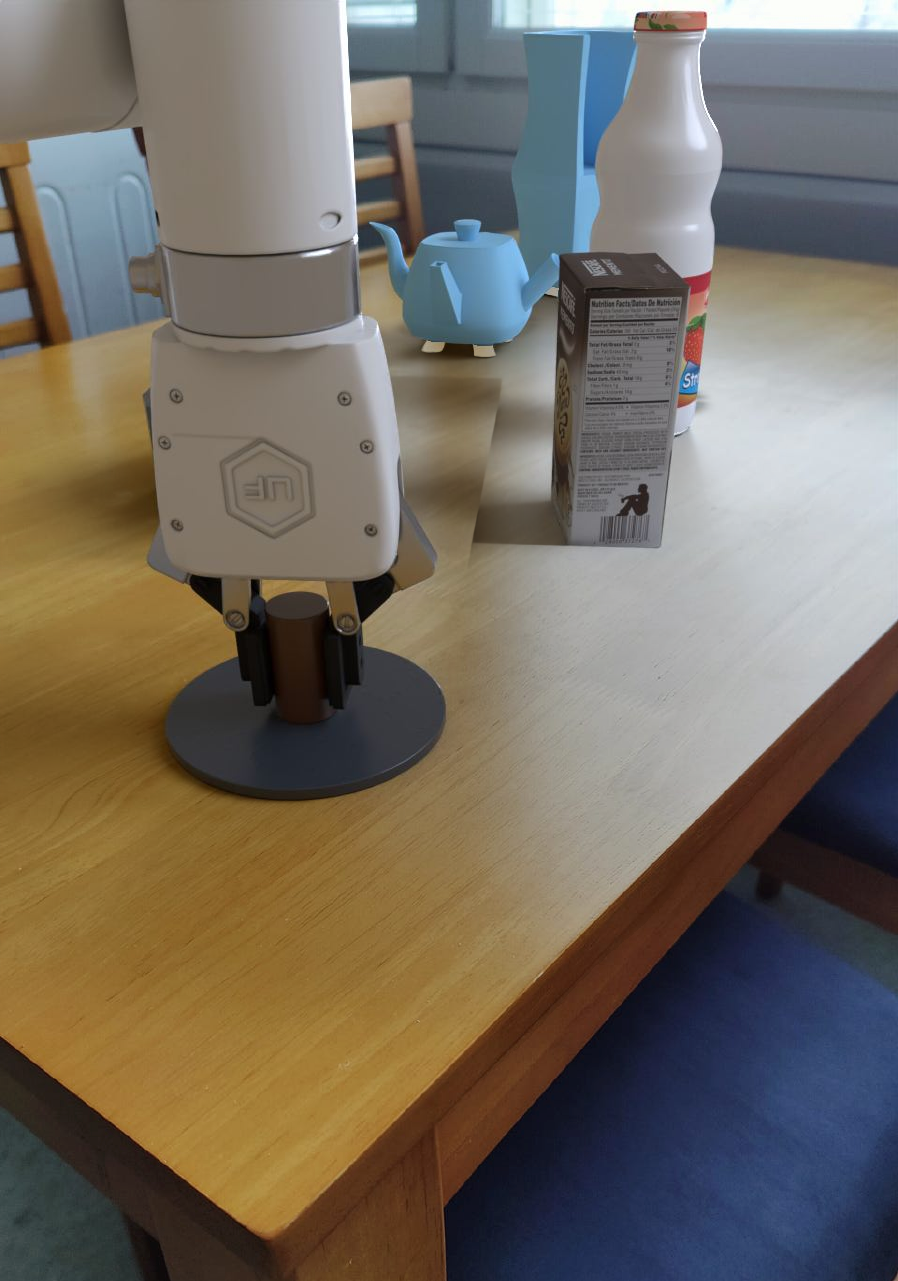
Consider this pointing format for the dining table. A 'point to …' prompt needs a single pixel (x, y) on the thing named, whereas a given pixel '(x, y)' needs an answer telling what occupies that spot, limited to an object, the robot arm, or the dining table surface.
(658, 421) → the coffee box
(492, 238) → the teapot
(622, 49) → the vase
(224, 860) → the dining table surface
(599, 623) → the dining table surface
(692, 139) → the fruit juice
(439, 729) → the lid
